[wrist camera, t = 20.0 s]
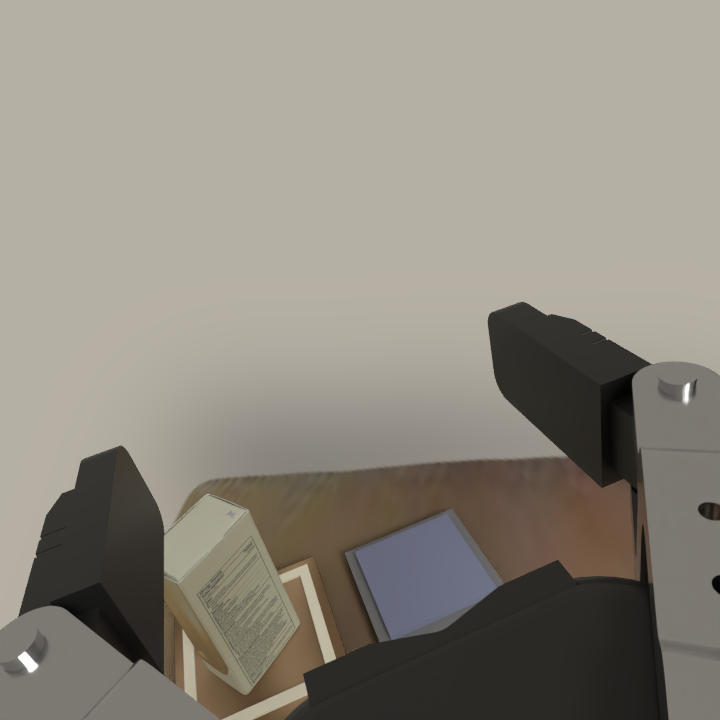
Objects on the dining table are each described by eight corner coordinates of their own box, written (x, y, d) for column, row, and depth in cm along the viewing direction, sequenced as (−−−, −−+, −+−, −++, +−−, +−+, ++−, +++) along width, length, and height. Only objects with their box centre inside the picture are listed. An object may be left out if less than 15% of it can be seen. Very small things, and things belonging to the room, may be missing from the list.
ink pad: (453, 516, 50) (451, 504, 49) (514, 605, 41) (512, 592, 40) (347, 561, 48) (343, 548, 47) (387, 663, 39) (383, 650, 38)
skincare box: (262, 602, 45) (210, 487, 39) (303, 624, 42) (253, 505, 36) (202, 673, 41) (133, 556, 35) (244, 702, 38) (176, 581, 32)
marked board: (316, 564, 48) (313, 554, 48) (358, 692, 38) (354, 682, 37) (178, 621, 46) (173, 612, 46) (183, 773, 36) (176, 763, 35)
